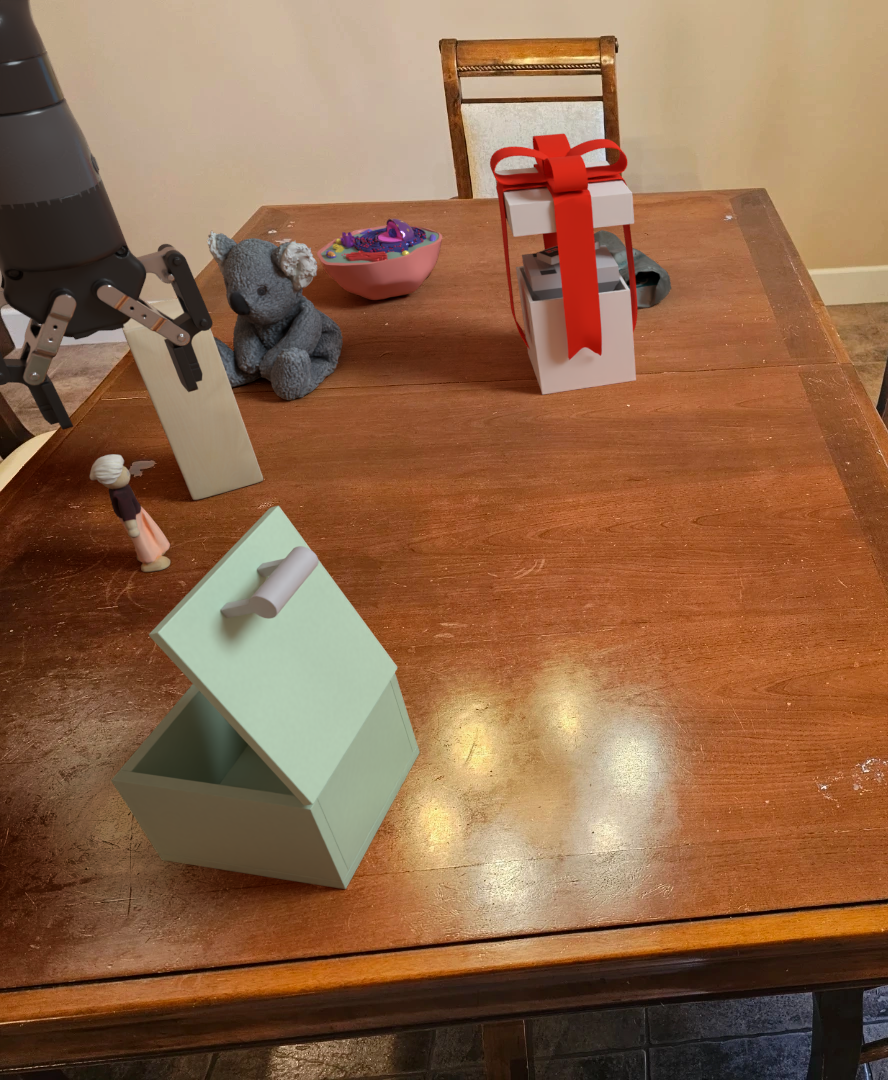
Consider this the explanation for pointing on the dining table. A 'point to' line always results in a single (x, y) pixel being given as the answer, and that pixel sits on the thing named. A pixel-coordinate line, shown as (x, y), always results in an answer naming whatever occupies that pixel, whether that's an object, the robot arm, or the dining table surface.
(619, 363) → the white gift box
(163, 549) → the grandmother figurine
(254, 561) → the lid
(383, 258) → the cell model
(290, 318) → the koala plush
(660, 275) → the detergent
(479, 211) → the dining table surface
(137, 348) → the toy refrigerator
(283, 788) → the compartment
